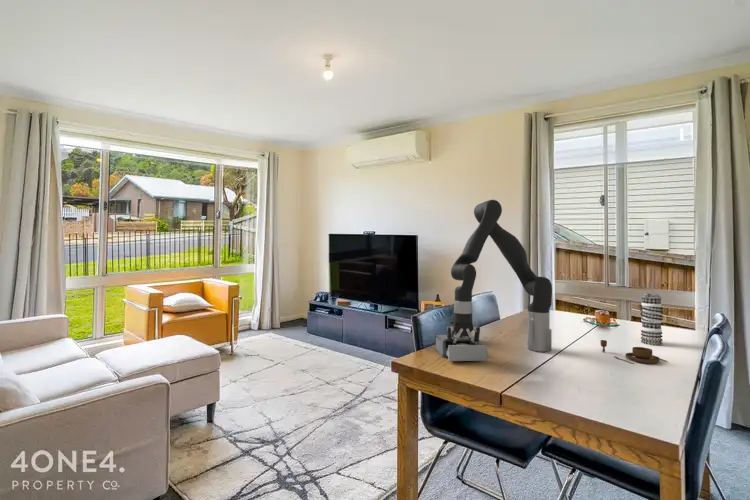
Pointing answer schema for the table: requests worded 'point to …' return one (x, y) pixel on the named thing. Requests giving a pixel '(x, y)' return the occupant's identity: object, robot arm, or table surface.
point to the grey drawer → (466, 352)
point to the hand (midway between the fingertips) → (463, 351)
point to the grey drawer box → (443, 342)
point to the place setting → (637, 354)
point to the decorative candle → (651, 319)
